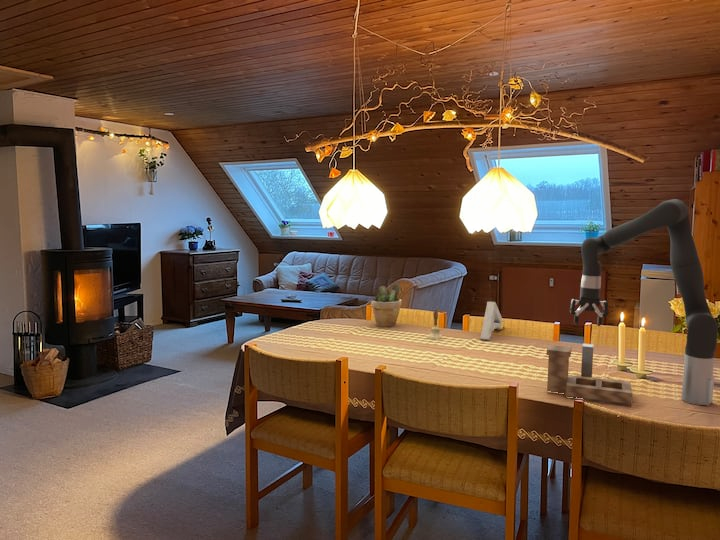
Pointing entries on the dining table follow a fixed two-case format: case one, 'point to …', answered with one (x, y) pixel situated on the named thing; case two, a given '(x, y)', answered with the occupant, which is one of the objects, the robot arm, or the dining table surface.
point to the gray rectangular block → (587, 360)
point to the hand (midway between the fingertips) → (587, 325)
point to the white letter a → (491, 320)
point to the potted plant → (386, 306)
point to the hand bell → (435, 328)
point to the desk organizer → (583, 381)
